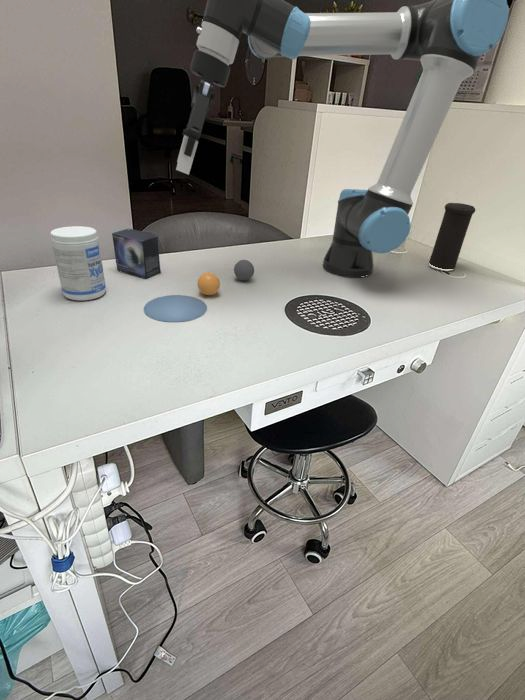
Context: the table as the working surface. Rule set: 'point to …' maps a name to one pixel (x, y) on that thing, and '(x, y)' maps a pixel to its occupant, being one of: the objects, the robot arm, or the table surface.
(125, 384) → the table surface
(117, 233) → the small box
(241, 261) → the charcoal ball
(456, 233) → the container
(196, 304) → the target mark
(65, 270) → the supplement tub
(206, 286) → the orange ball
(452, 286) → the table surface
